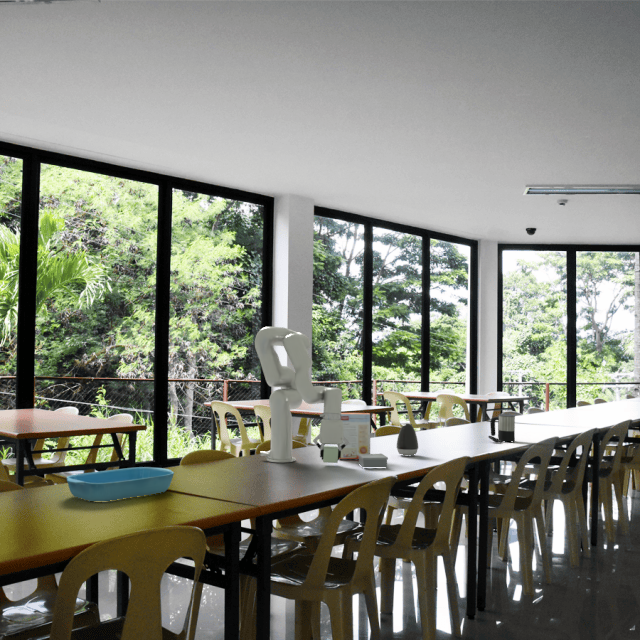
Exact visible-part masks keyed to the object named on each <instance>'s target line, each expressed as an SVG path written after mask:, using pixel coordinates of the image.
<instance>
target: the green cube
mask: <svg viewBox="0 0 640 640" xmlns="http://www.w3.org/2000/svg"><path fill="white" fill-rule="evenodd" d="M323 450H324V456H323V460H322V461H323V462H322V463H331V464H333V463H334V464H338V461H339V460H338V445H324V447H323Z"/></svg>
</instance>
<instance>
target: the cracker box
mask: <svg viewBox="0 0 640 640" xmlns="http://www.w3.org/2000/svg"><path fill="white" fill-rule="evenodd" d="M341 420H342V421H343V435H344V437H345V438H346V439H347V440H348V441H349V444H348V445H346V446H345V447H344V448H343V449H342V450H341V458H339V459H359V456H358V454H371V413H368V412H366V413H365V412H341ZM344 443H345V441H344V440H343V443H342V444H340V445H343V444H344Z"/></svg>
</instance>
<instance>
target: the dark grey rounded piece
mask: <svg viewBox="0 0 640 640" xmlns="http://www.w3.org/2000/svg"><path fill="white" fill-rule="evenodd" d="M418 449H419V441H418V436H417V433H416V431H415V428H414V426H413V424H411V423H407V422H406V423H404V424H403V425H402V426H401V428H400V430H399V432H398V436H397V440H396V450H397V452H398V454H399V455H400V454H403V455H414V454H415V455H416V454H417V452H418ZM415 455H414V456H415Z"/></svg>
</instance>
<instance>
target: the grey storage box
mask: <svg viewBox="0 0 640 640" xmlns="http://www.w3.org/2000/svg"><path fill="white" fill-rule="evenodd" d="M358 456H359V460H358V465H359V464H360V465H361V466H362V467H387V468H388V459H389V458H388V456H387V455H384V454H383V453H370V454H358Z"/></svg>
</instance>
